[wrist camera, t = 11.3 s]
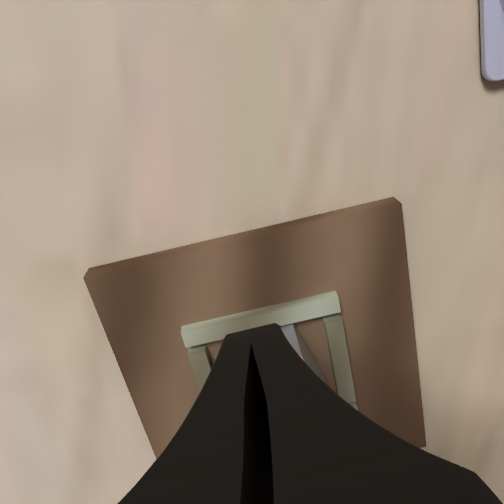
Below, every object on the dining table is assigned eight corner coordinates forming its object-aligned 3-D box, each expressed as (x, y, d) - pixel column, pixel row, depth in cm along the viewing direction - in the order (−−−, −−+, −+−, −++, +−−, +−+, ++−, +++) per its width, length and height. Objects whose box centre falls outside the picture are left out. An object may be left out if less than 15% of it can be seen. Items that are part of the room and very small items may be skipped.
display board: (393, 197, 21) (406, 207, 20) (418, 432, 27) (430, 454, 25) (89, 268, 22) (79, 284, 20) (175, 487, 27) (173, 512, 26)
